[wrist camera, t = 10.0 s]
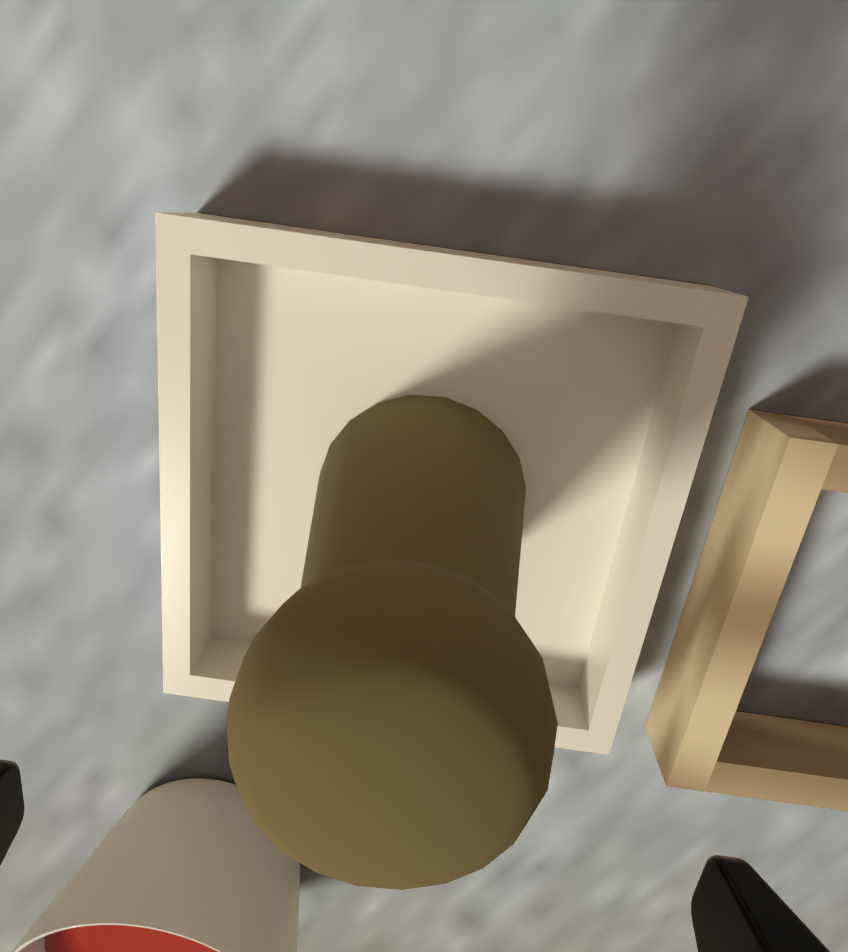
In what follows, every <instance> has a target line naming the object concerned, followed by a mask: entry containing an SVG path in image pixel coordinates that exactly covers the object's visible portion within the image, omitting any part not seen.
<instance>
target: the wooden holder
mask: <svg viewBox="0 0 848 952" xmlns="http://www.w3.org/2000/svg"><path fill="white" fill-rule="evenodd" d="M821 489H825V490H832V491H839V492H846V493H848V423H840V422H833V421H826V420H819V419H812V418H805V417H798V416H791V415H784V414H777V413H770V412H763V411H755V410H748V413H747V416H746V419H745V422H744V425H743V428H742V431H741V434H740V437H739V441H738V444H737V447H736V450H735V453H734V456H733V459H732V462H731V465H730V468H729V471H728V474H727V477H726V481H725V484H724V487H723V490H722V493H721V496H720V499H719V502H718V505H717V508H716V511H715V514H714V517H713V521H712V524H711V527H710V530H709V533H708V536H707V539H706V542H705V545H704V548H703V551H702V554H701V557H700V561H699V564H698V567H697V570H696V573H695V576H694V579H693V582H692V585H691V588H690V591H689V594H688V597H687V601H686V604H685V607H684V610H683V613H682V616H681V619H680V622H679V625H678V628H677V631H676V634H675V637H674V641H673V644H672V647H671V650H670V653H669V656H668V659H667V662H666V665H665V668H664V671H663V674H662V677H661V681H660V684H659V687H658V690H657V693H656V696H655V699H654V702H653V705H652V708H651V711H650V714H649V717H648V721H647V724H646V727H645V729H646V731H647V734H648V737H649V740H650V742H651V745H652V748H653V751H654V753H655V756H656V759H657V762H658V764H659V767H660V770H661V772H662V775H663V778H664V781H665V783H666V786H670V787H677V788H685V789H692V790H699V791H706V792H714V793H721V794H728V795H735V796H742V797H750V798H757V799H764V800H771V801H779V802H786V803H793V804H800V805H807V806H815V807H822V808H829V809H836V810H843V811H848V727H846V726H839V725H831V724H824V723H817V722H810V721H803V720H795V719H788V718H781V717H774V716H767V715H760V714H752V713H745V712H738V711H736V709H737V707H738V704H739V702H740V699H741V696H742V694H743V691H744V689H745V686H746V683H747V681H748V678H749V676H750V673H751V670H752V668H753V665H754V663H755V660H756V657H757V655H758V652H759V650H760V647H761V644H762V642H763V639H764V637H765V634H766V631H767V629H768V626H769V624H770V621H771V618H772V616H773V613H774V611H775V608H776V605H777V603H778V600H779V598H780V595H781V592H782V590H783V587H784V585H785V582H786V579H787V577H788V574H789V572H790V569H791V566H792V564H793V561H794V559H795V556H796V553H797V551H798V548H799V546H800V543H801V540H802V538H803V535H804V533H805V530H806V527H807V525H808V522H809V520H810V517H811V514H812V512H813V509H814V507H815V504H816V501H817V499H818V496H819V494H820V491H821Z"/></svg>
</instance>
